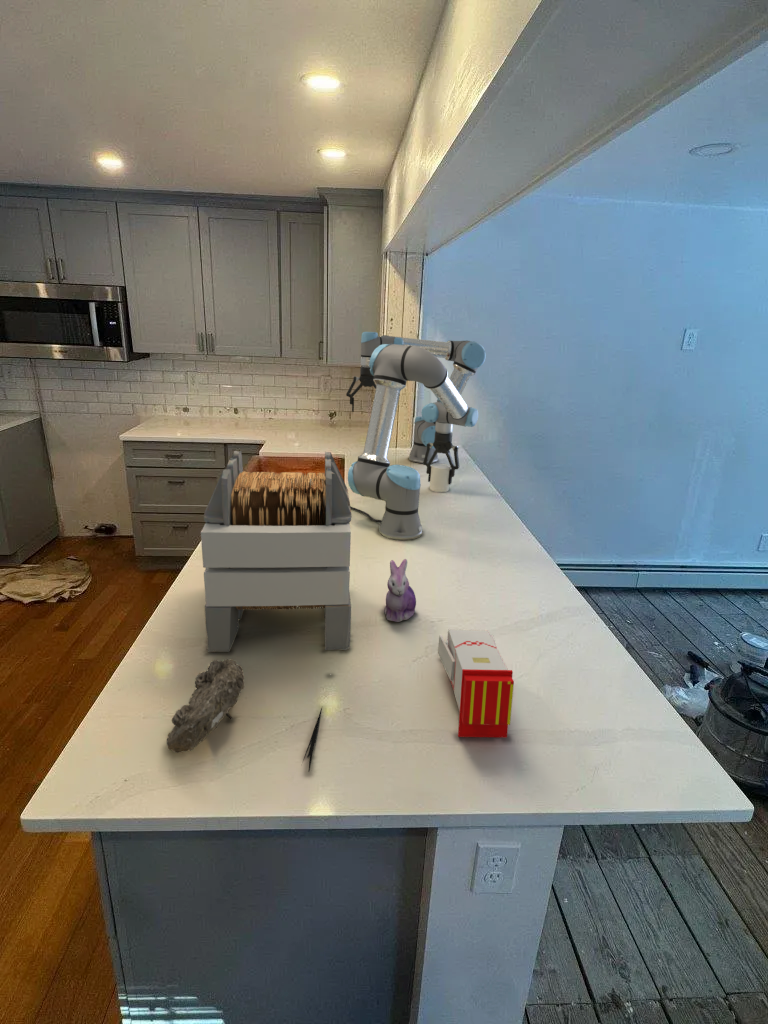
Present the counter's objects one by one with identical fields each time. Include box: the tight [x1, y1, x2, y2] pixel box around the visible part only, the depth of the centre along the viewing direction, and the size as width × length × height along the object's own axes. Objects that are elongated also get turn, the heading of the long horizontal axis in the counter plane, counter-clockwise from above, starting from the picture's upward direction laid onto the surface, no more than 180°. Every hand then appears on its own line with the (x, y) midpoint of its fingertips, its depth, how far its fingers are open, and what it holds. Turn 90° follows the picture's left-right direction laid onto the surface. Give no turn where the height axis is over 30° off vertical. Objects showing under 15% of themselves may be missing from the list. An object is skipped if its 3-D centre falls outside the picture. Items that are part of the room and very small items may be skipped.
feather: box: [301, 673, 332, 771], centre depth 108 cm, size 2×28×2 cm
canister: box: [429, 463, 451, 493], centre depth 250 cm, size 8×8×11 cm
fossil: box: [166, 658, 245, 754], centre depth 106 cm, size 22×10×15 cm
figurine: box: [384, 558, 417, 623], centre depth 145 cm, size 9×10×15 cm
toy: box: [437, 628, 515, 738], centre depth 117 cm, size 12×13×30 cm
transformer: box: [200, 450, 353, 653], centre depth 138 cm, size 34×33×41 cm
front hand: (439, 482), depth 251 cm, fingers closed on canister, 8 cm apart
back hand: (367, 411), depth 272 cm, fingers open, 13 cm apart
